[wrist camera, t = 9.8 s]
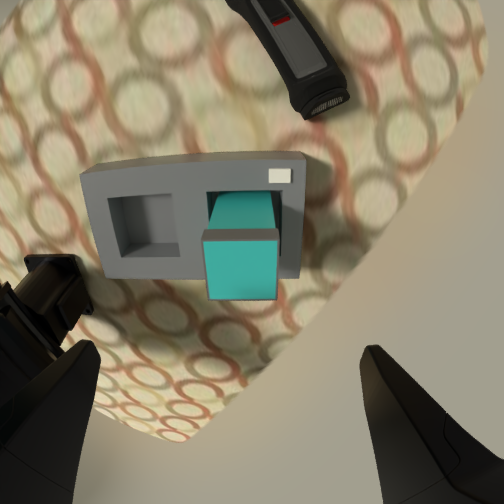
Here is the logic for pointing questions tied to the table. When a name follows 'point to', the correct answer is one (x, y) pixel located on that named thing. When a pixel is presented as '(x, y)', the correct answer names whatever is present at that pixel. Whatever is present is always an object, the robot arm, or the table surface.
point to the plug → (241, 248)
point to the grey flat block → (186, 208)
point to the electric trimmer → (296, 54)
